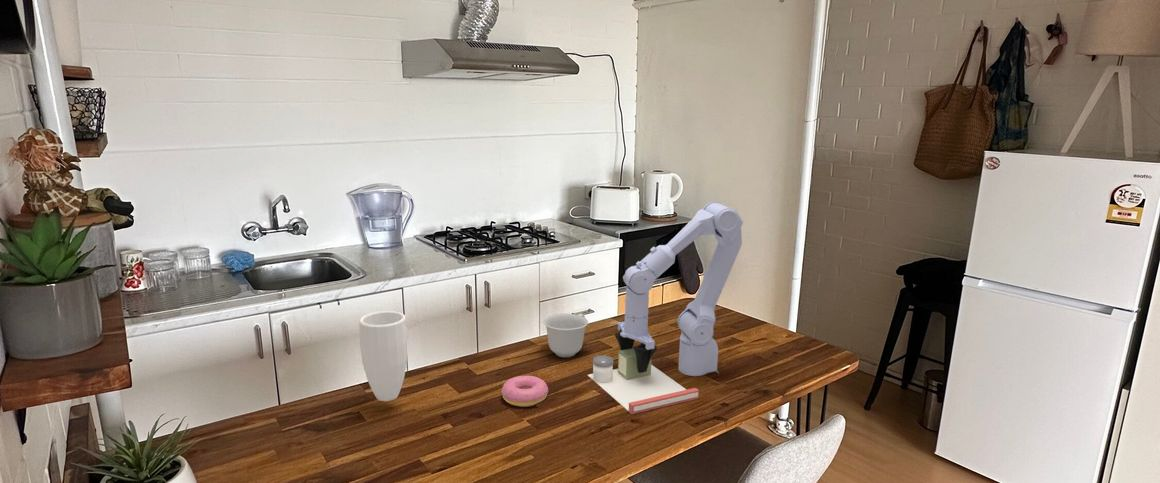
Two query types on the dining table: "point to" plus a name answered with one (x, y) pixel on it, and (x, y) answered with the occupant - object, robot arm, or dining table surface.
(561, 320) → the teacup
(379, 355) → the white vase
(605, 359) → the spice jar
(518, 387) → the doughnut
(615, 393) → the shelf board
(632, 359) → the carton
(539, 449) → the dining table surface
